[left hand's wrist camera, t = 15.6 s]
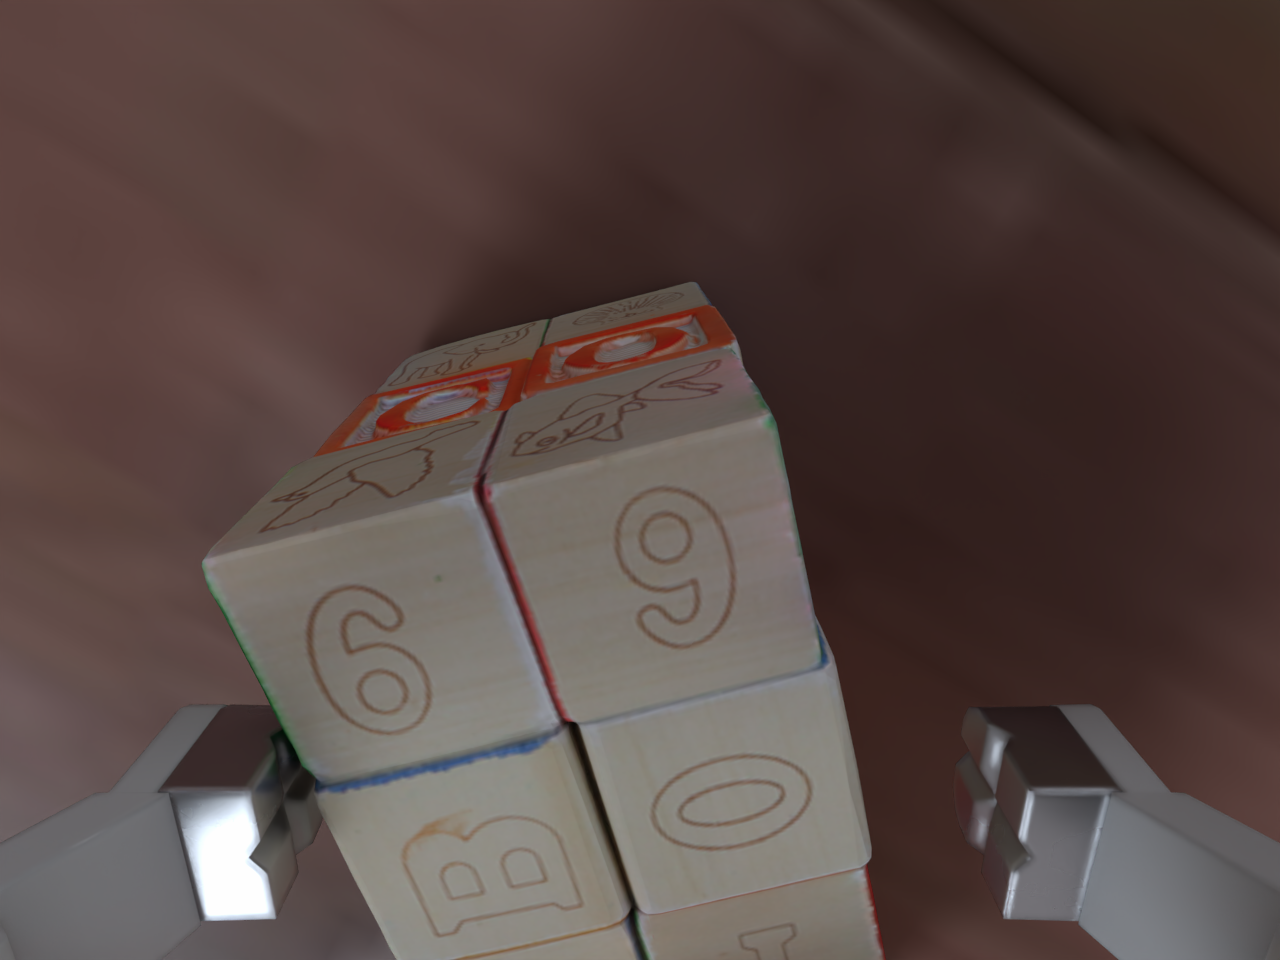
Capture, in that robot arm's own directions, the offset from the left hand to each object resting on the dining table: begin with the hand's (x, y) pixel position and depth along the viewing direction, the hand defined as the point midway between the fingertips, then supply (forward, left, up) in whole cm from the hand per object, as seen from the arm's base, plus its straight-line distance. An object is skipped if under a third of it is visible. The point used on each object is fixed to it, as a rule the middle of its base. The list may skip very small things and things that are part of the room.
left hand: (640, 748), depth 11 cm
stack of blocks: (+3, +6, -8) cm, 11 cm away
